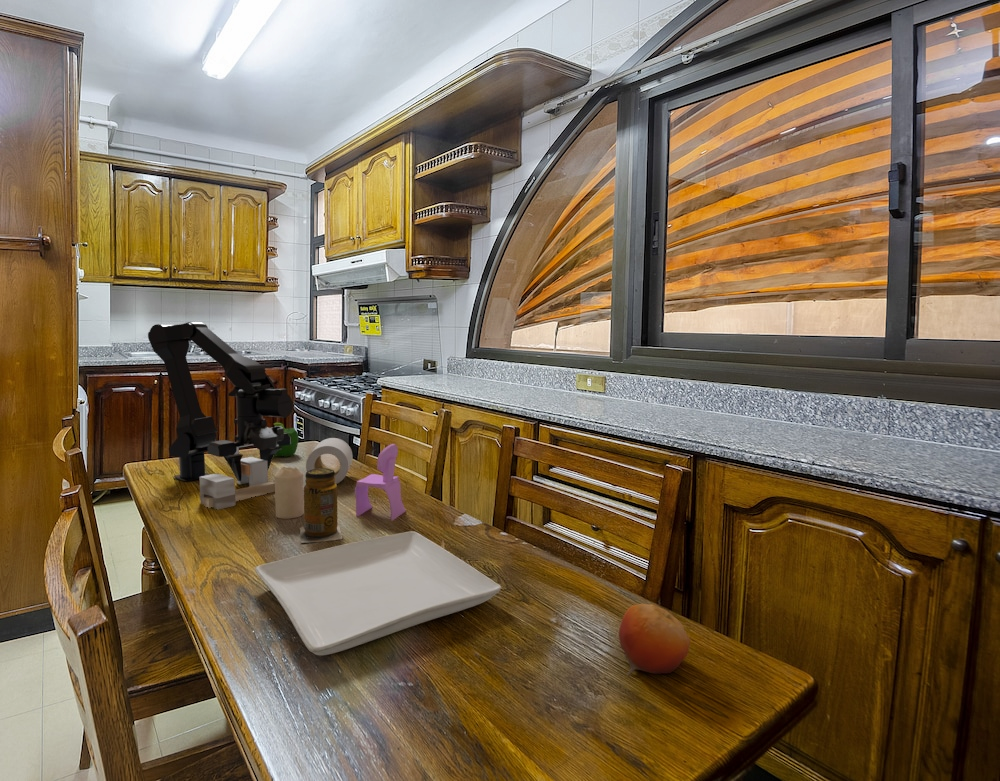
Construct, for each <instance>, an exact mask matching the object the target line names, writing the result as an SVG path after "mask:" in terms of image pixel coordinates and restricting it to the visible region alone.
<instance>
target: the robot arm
mask: <svg viewBox="0 0 1000 781" xmlns="http://www.w3.org/2000/svg"><path fill="white" fill-rule="evenodd" d="M147 338H148V342H149V343H150V346H151V348H152V350H153V352H154V353H155V354H156V355H157V356H158V358H160V359H161V360H162V361H163V363H164V366H165V369H166V370H165V371H166V373H167V377H168V380H169V385H170V387H171V388H170V389H171V390H172V395H173V399H174V401H175V405H176V408H177V412H178V415H179V418H178V422H177V424H176V429H175V430H176V437H177V438H176V439H175V440H174V442H173V443H172V444H171V445H170V446H169V447H168V451H169V455H170V457H173V458H178V463H179V465H178V466H179V474H177V475H173V478H174V479H177V480H180V481H182V482H191V481H195V480H196V481H197V480H200V479H199V477H201V476H206V475H211V474H212V473H207V472H206V461H205V460H206V459H205V453H207V454H208V455H210V456H211V455H212V456H215V457H218V458H220V457H221V458H224V460H225V461H226V462H227V464H228V466H229V467H230V469H231V472H232V474H233V475H234V478H236V479H235V480H236V481H237V480H238V481H241V476H242V474H241V459H242V458H243V456H244V455H243V454H241V453H240V450H244V449H248V448H254V447H255V448H256V449H257V450H258V451H259V459H262V460H266V461H267V465H268V470H269V469H270V466H271V462H272V460H273V458H274V457H275V456H274V454H275V453H276V452H277V451H278V450H280V449H282V447H279V445H280V446H285V445H290V444H291V437H290V436H289V434H288V433H284V429H283V427H281V426H273V427H268V424H267V422H268V421H267V419H265V418H264V417H271V418H272V417H273V418H287V417H289V416H290V415H291V414H292V411H293V408H294V401H293V400H292V398H291V396H290V394H288V389H287V388H276V386H275V385H274V383H273V382H272V380H271V378H270V377H269V376H268V375H267V372H266V368H265V367H264V366H263V365H262V363H260V362H258V361H256V360H254V359H252V358H250V357H248V356H244V355H242V354H240V353H238V352H237V351H236V350H234V349H233V347H231V346H230V345H229V344H228V343H226V342H225V341H224V340H223V339H222V338H220V337H219V336H218V335H216V334H215V332H213V331H212V330H211V329H209V326H208V325H207V324H205V322H204V323H203V322H201V321H188V322H185V323H179V324H175V323H174V324H167V323H166V324H165V323H163V324H161V323H158V324H153V325H152V326H151V328H150V329H149V331H148V332H147ZM190 342H193V343H194V344H195V345H196V346H197V347H199V348H200V349H201V350H202V351H203V352H204V353H206V354H207V355H208V356H209V357H210V358H211V359H212V360H214V361H215V362H216V363H217V364H219V366H221V368H222V369H223V370H224V373H225V376H226V378H227V379H228V380H229V381H230V383H231V384H232V385H233V386H234V388H233V389H232V390H231V391H230V392H229V393H228V394H227V395H228V397H235V399H236V418H235V419H233V420H234V421H233V422H234V424H235V425H237V426H236V427H237V435H235V436H234V440H235V441H230V440H227V439H221V440H216V439H217V432H218V428H216V426H215V420H214V418H213V416H212V415H211V416H207V415H205V413H204V412H203V411H202V410H201V409H202V408H201V405H200V402H199V397H198V395H197V392H196V388H195V385H194V381H193V378H192V373H191V371H190V366H189V363H188V360H187V354H188V351H189V349H190Z"/></svg>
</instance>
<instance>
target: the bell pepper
mask: <svg viewBox="0 0 1000 781" xmlns="http://www.w3.org/2000/svg"><path fill="white" fill-rule="evenodd" d="M273 425H274V426H273V427H275V426H281V427H283V429H284V433H288V434H289V436H290V437H291V444H290V445H285V446H280V445H279V447H282V449H280V450H278V451H277V452H276V453H275V454H274V456H273V457H278V456H279V457H283V456H284V457H292V456H294V455H295V454H296V452H297V448H298V444H299V433H298V431H297V430H296V429H295V428H294V427H291V428H285V426H284V424H283V423H282V422H275V423H273Z"/></svg>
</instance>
